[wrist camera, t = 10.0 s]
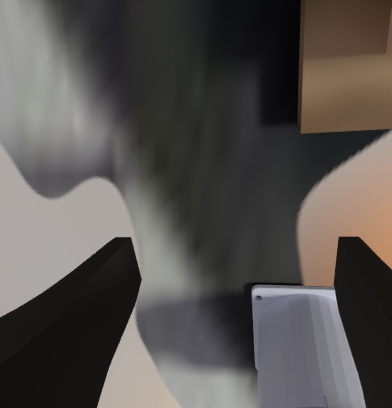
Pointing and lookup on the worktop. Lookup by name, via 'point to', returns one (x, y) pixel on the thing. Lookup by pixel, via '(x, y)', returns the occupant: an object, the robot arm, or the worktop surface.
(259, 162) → the worktop surface
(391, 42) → the terracotta block
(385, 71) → the tan board
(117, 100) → the worktop surface
